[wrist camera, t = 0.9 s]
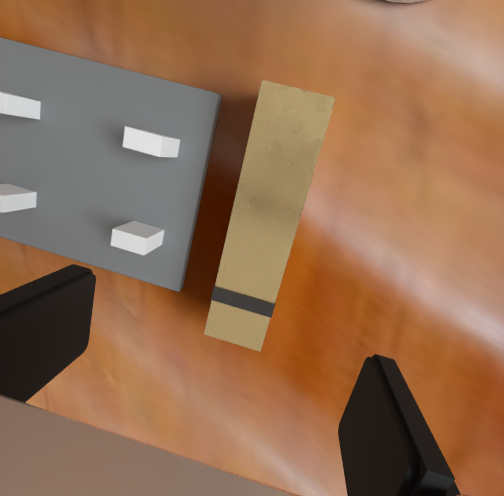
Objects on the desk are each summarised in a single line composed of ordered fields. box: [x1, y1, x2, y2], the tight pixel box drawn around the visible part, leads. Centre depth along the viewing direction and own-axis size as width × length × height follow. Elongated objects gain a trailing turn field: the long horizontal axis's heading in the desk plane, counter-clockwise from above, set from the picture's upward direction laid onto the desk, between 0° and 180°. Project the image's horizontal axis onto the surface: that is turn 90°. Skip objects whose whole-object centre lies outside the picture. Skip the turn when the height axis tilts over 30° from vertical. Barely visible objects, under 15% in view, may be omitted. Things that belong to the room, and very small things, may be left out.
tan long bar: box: [204, 80, 336, 351], centre depth 26 cm, size 20×5×5 cm, turn 166°
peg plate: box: [0, 37, 222, 292], centre depth 27 cm, size 18×21×4 cm
